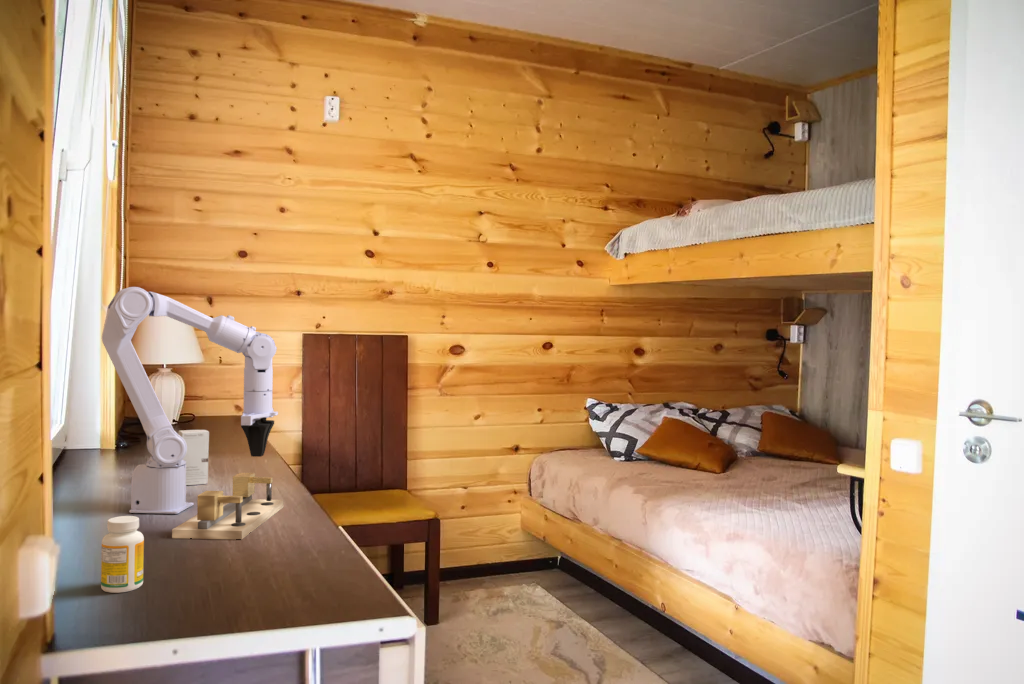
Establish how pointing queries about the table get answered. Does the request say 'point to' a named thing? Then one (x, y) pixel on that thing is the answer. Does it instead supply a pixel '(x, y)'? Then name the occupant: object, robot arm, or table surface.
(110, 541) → the supplement bottle
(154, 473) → the robot arm
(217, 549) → the table surface
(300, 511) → the table surface
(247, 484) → the tan block with post
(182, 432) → the skincare box
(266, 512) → the board
